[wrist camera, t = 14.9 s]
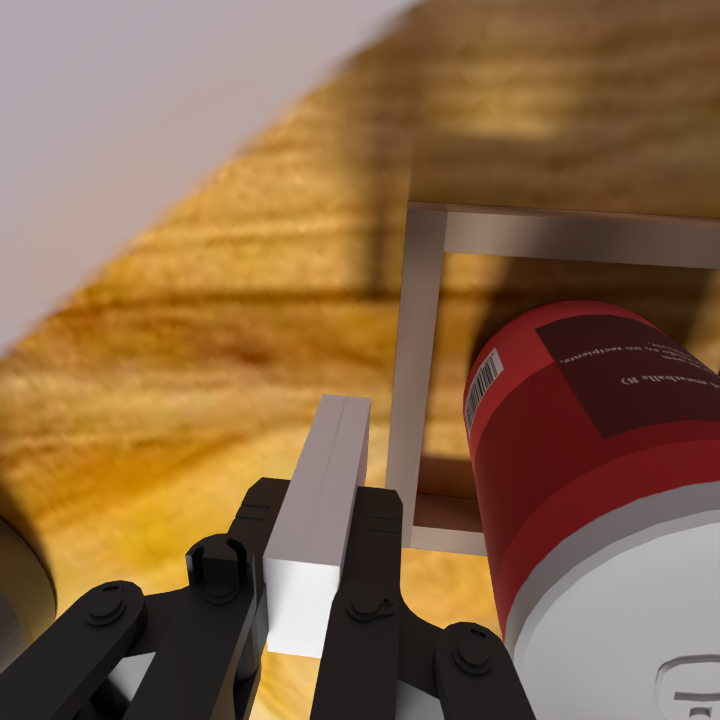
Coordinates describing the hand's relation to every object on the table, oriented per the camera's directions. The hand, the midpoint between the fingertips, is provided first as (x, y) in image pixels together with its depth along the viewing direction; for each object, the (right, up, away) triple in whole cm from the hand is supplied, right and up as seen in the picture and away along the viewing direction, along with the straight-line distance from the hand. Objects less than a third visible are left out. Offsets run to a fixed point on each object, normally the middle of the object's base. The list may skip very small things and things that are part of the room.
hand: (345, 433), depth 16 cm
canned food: (+8, +1, +3) cm, 9 cm away
